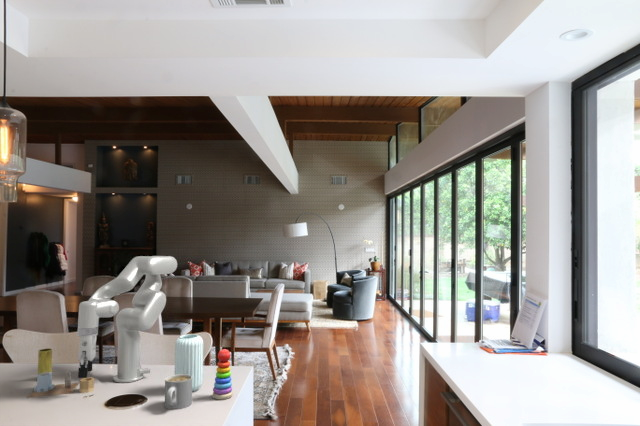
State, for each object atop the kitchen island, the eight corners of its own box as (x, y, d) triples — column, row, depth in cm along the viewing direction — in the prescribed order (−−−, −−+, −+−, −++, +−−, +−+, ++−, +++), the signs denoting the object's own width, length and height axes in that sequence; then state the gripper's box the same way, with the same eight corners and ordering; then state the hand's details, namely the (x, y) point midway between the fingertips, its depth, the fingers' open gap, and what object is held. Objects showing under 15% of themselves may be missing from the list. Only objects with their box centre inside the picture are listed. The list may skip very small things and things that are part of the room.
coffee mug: (175, 398, 178) (175, 373, 178) (196, 401, 175) (197, 375, 175) (152, 411, 165) (153, 383, 165) (175, 414, 162) (176, 386, 162)
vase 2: (194, 395, 182) (195, 339, 183) (169, 393, 184) (169, 338, 185) (207, 385, 193) (207, 333, 194) (182, 384, 195) (183, 332, 196)
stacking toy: (222, 401, 174) (223, 353, 175) (208, 397, 178) (208, 350, 180) (236, 395, 181) (237, 348, 182) (222, 392, 185) (222, 346, 186)
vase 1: (44, 385, 194) (45, 351, 194) (32, 384, 195) (33, 351, 196) (55, 380, 200) (56, 348, 200) (43, 379, 201) (45, 347, 202)
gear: (52, 385, 189) (53, 370, 189) (55, 389, 184) (56, 374, 184) (33, 388, 185) (33, 374, 185) (35, 393, 179) (36, 378, 180)
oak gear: (97, 390, 187) (98, 376, 187) (94, 396, 180) (94, 381, 180) (79, 392, 185) (79, 377, 185) (75, 398, 178) (75, 382, 178)
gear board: (79, 386, 192) (80, 368, 193) (71, 397, 179) (72, 378, 179) (37, 389, 188) (37, 371, 188) (26, 401, 174) (26, 382, 175)
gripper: (93, 335, 176) (91, 379, 175) (101, 327, 193) (99, 368, 191) (72, 335, 174) (69, 380, 173) (82, 328, 191) (79, 369, 189)
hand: (85, 374), depth 182 cm, fingers open, 9 cm apart
